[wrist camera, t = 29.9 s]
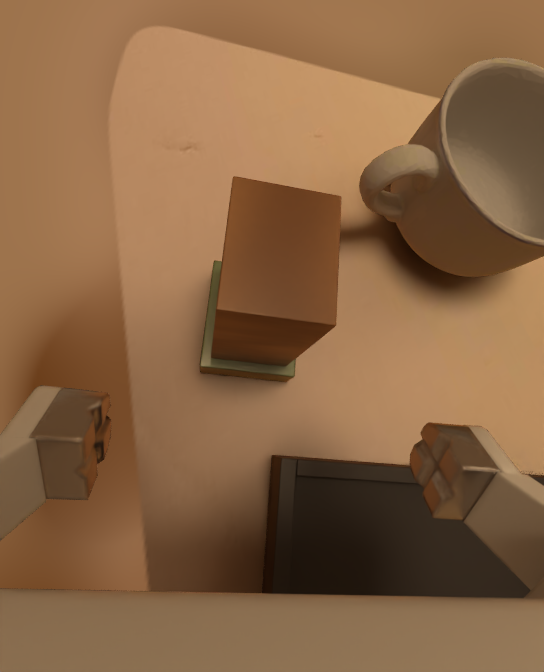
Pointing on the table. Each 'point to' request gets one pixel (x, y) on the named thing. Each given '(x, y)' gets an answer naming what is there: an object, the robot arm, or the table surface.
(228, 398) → the table surface
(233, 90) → the table surface
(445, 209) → the teacup
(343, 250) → the table surface
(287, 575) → the tray
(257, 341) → the brown block green base
